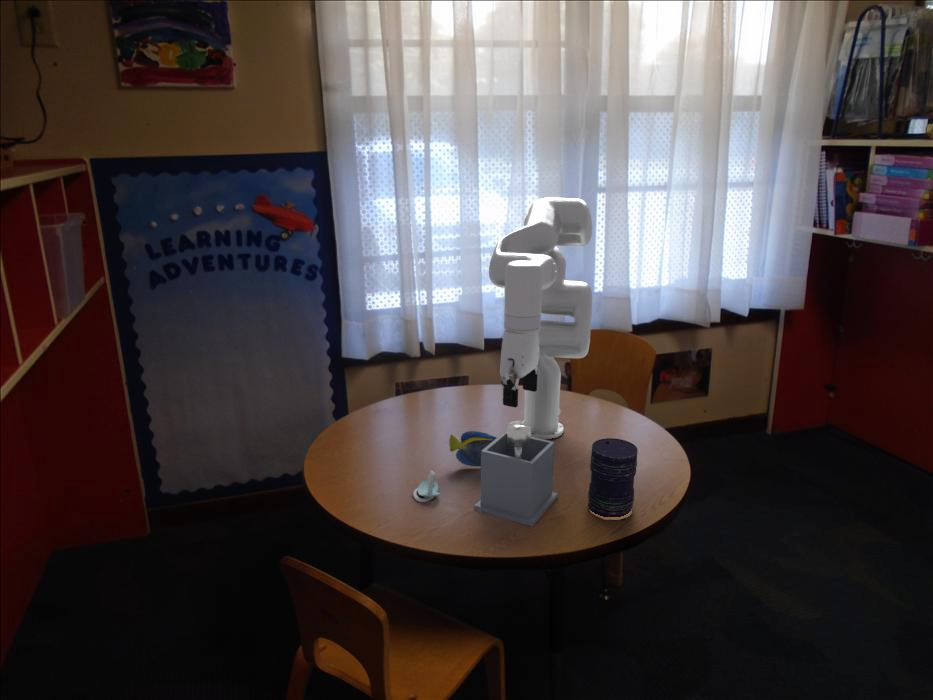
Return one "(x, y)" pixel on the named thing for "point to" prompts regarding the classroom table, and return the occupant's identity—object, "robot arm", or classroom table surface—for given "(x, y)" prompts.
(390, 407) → the classroom table surface
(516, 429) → the plunger
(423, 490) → the pacifier
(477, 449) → the tropical fish figurine
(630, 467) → the dark blue cylinder
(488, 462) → the press housing
